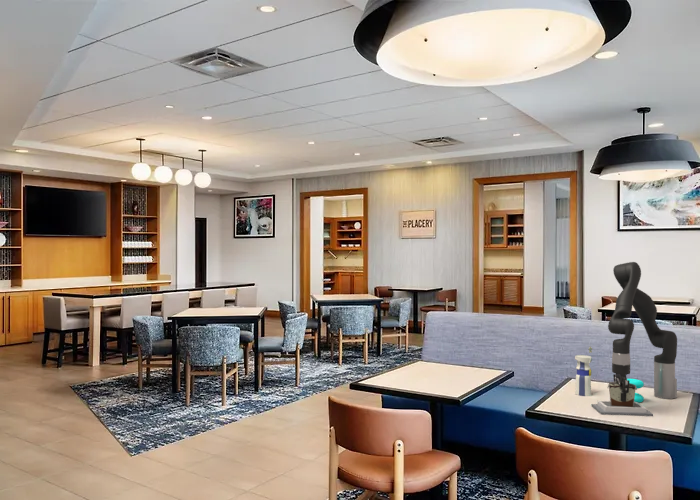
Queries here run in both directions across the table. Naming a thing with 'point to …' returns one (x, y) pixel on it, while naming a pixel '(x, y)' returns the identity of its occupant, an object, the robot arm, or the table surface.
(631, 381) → the donuts
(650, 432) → the table surface
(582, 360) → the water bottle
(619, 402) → the food container
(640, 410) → the tray
